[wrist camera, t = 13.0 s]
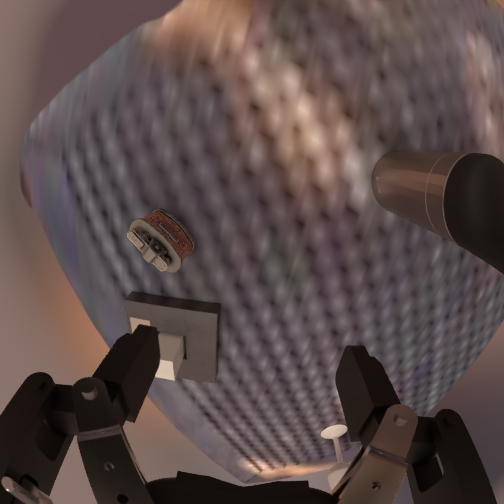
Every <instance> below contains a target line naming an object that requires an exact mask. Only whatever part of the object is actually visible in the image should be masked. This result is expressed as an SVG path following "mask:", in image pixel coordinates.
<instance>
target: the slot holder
mask: <svg viewBox="0 0 504 504" xmlns="http://www.w3.org/2000/svg"><path fill="white" fill-rule="evenodd" d="M125 306H126V313H127V320H128V326H129V332H130V334H132V333H133V332H134V330H135V329H136V327H137V326H138V325H139V324H143V325H148V326H153V327H156V328H157V330H158V335H159V333H160V332H166V333H172V334H178V335H184V336H186V351H185V354H184V357H183V359H182V362H181V365H180V367H179V370H178V373H177V376H176V377H179V378H184V379H190V380H196V381H203V382H210V383H215V382H216V377H217V367H218V338H219V314H220V304H217V303H208V302H200V301H193V300H185V299H178V298H171V297H164V296H157V295H151V294H144V293H138V292H131V293H130V294H129V296H128V297H127V298H126V299H125Z"/></svg>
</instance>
